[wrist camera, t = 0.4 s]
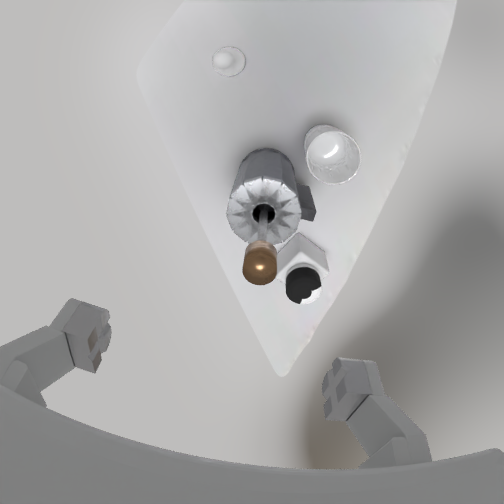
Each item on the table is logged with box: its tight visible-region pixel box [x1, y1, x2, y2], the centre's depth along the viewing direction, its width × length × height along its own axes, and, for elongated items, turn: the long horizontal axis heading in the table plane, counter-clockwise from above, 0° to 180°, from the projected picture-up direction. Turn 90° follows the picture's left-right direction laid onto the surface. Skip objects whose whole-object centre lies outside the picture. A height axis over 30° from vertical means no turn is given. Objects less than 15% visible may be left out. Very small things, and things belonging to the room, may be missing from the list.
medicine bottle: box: [275, 233, 329, 304], centre depth 57 cm, size 7×7×12 cm
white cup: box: [304, 125, 361, 185], centre depth 46 cm, size 8×8×10 cm
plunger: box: [243, 203, 277, 285], centre depth 37 cm, size 7×7×18 cm
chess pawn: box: [212, 47, 245, 76], centre depth 40 cm, size 5×5×9 cm
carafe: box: [226, 148, 316, 245], centre depth 47 cm, size 10×12×16 cm
